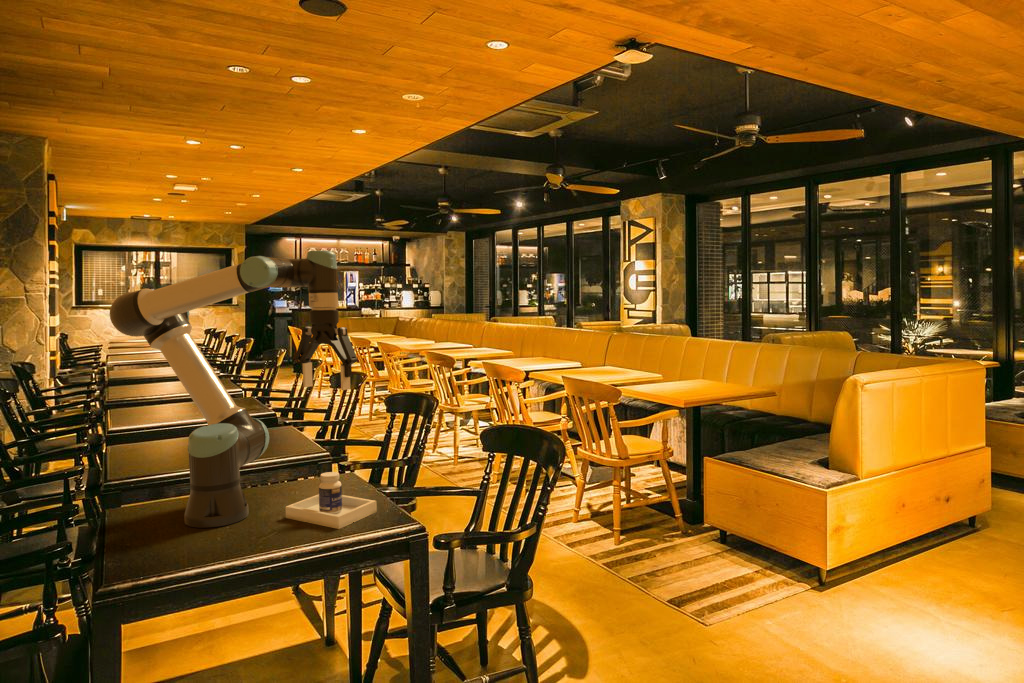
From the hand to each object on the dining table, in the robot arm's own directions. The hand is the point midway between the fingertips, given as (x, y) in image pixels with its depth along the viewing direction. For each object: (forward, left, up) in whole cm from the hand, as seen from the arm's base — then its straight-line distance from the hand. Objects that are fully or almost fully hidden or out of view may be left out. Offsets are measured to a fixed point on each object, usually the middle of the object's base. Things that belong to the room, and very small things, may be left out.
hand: (326, 388), depth 183 cm
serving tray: (+7, -7, -32) cm, 33 cm away
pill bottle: (+7, -7, -31) cm, 33 cm away
